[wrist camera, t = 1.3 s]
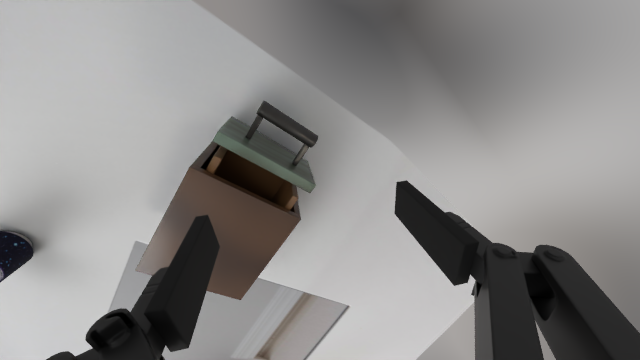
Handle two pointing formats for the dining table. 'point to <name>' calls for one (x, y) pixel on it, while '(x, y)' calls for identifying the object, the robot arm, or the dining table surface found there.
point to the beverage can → (13, 252)
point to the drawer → (264, 158)
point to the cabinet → (222, 228)
